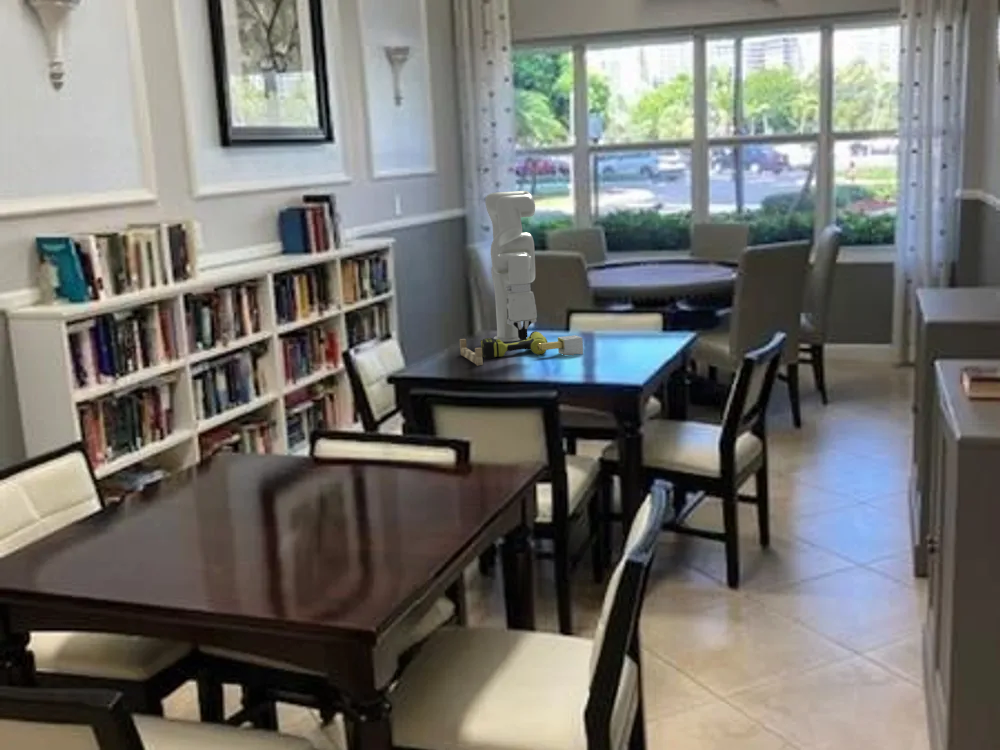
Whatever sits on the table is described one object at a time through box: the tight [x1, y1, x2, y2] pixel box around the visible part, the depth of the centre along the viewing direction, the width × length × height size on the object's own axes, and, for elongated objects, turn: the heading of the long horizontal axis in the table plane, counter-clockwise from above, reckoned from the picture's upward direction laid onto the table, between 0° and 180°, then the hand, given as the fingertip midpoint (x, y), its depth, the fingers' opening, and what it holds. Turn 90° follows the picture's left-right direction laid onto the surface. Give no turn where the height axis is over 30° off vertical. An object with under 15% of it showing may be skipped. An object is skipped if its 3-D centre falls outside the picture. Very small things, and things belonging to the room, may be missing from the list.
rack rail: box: [459, 338, 484, 367], centre depth 382 cm, size 24×2×6 cm, turn 16°
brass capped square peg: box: [537, 340, 563, 351], centre depth 380 cm, size 3×10×3 cm, turn 106°
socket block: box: [557, 334, 584, 356], centre depth 382 cm, size 7×7×6 cm
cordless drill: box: [480, 330, 549, 360], centre depth 394 cm, size 7×25×25 cm
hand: (523, 339), depth 376 cm, fingers closed
